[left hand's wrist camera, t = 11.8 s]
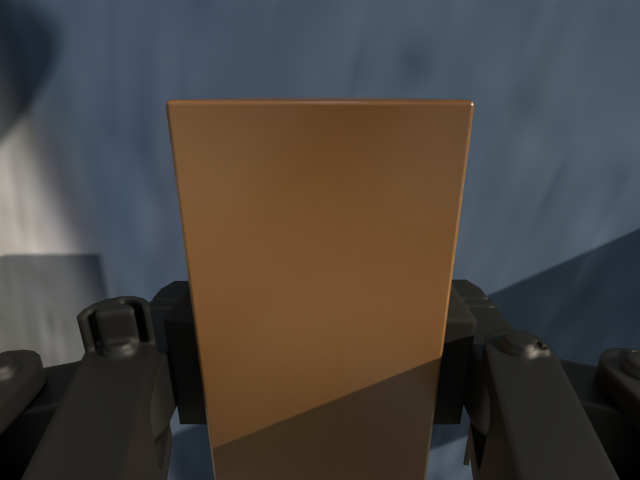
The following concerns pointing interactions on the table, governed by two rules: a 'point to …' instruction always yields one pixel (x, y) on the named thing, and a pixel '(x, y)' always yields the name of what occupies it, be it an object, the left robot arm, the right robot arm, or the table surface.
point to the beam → (320, 277)
